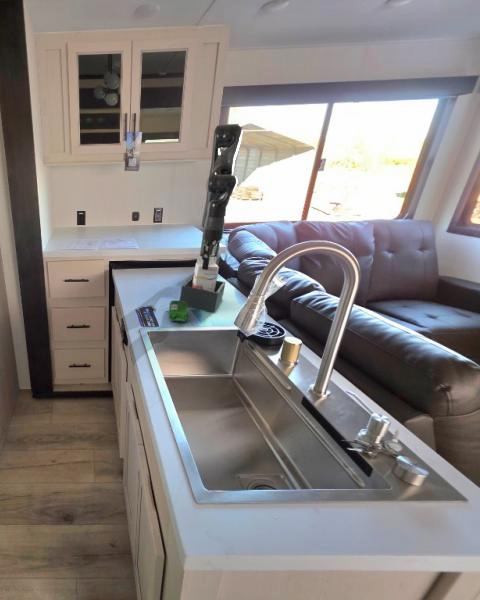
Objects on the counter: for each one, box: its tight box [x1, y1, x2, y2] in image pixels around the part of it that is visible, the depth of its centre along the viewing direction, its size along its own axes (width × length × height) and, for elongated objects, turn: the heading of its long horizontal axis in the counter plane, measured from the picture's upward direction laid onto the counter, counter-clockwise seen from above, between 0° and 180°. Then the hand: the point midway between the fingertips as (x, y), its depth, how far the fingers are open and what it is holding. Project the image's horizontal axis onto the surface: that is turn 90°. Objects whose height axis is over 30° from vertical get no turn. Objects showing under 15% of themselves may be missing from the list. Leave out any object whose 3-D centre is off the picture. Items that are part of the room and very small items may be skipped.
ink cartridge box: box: [192, 255, 220, 292], centre depth 134 cm, size 9×5×15 cm, turn 84°
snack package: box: [168, 300, 189, 322], centre depth 125 cm, size 7×16×5 cm, turn 165°
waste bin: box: [179, 275, 226, 314], centre depth 138 cm, size 16×15×9 cm
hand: (206, 266), depth 133 cm, fingers closed on ink cartridge box, 6 cm apart
